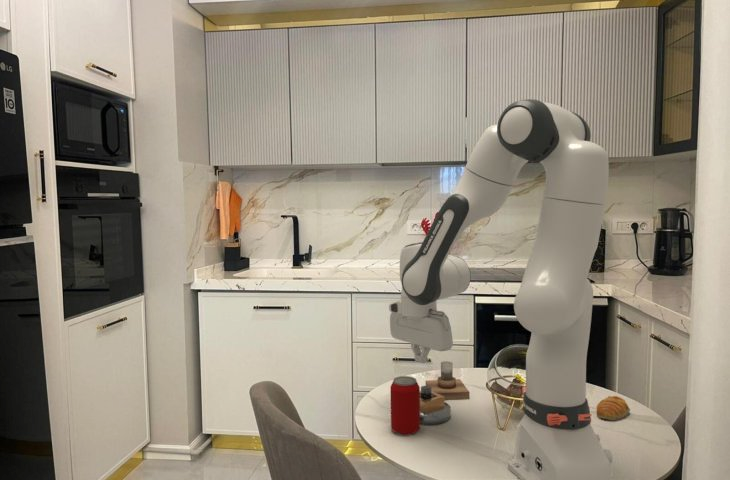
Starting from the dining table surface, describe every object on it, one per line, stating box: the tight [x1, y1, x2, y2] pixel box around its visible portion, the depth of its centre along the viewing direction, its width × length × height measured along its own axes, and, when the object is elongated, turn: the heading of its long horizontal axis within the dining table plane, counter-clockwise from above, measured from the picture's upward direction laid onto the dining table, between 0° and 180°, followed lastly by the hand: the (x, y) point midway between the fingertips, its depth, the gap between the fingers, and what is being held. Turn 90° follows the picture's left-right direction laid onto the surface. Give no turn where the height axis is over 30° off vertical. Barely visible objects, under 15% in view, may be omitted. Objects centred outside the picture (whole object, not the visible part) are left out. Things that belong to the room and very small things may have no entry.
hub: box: [420, 385, 452, 426], centre depth 125 cm, size 12×12×7 cm
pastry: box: [596, 395, 631, 422], centre depth 123 cm, size 9×7×4 cm
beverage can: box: [390, 375, 421, 436], centre depth 116 cm, size 7×7×12 cm
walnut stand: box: [425, 360, 470, 401], centre depth 139 cm, size 10×10×8 cm
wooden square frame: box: [420, 390, 446, 415], centre depth 125 cm, size 6×6×3 cm
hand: (421, 361), depth 126 cm, fingers closed
